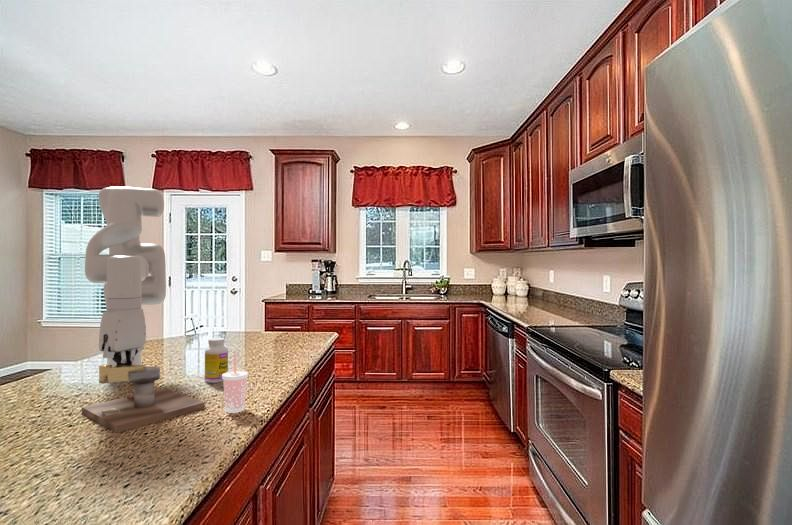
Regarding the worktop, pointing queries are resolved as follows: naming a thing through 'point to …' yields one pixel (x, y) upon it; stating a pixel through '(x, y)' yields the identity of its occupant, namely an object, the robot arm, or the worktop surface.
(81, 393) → the worktop surface
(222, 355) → the supplement bottle
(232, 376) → the beverage cup
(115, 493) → the worktop surface
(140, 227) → the robot arm
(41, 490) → the worktop surface
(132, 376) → the brass lever handle
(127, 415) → the post base
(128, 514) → the worktop surface
